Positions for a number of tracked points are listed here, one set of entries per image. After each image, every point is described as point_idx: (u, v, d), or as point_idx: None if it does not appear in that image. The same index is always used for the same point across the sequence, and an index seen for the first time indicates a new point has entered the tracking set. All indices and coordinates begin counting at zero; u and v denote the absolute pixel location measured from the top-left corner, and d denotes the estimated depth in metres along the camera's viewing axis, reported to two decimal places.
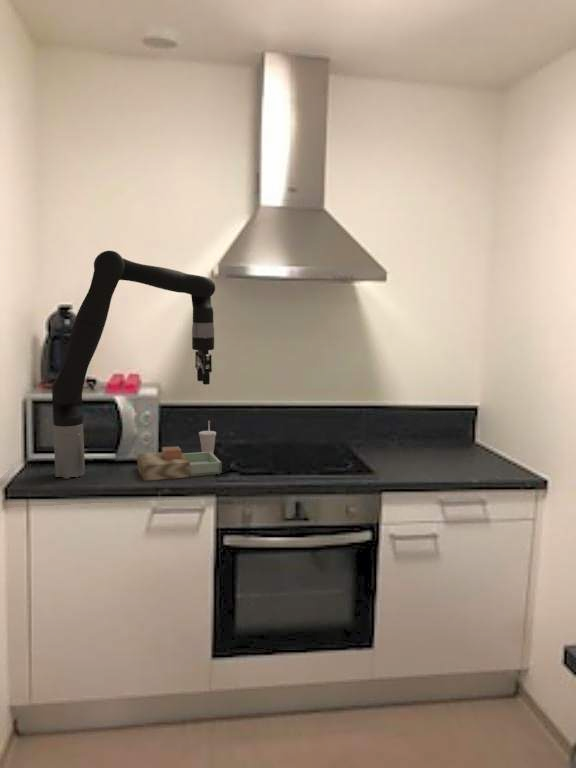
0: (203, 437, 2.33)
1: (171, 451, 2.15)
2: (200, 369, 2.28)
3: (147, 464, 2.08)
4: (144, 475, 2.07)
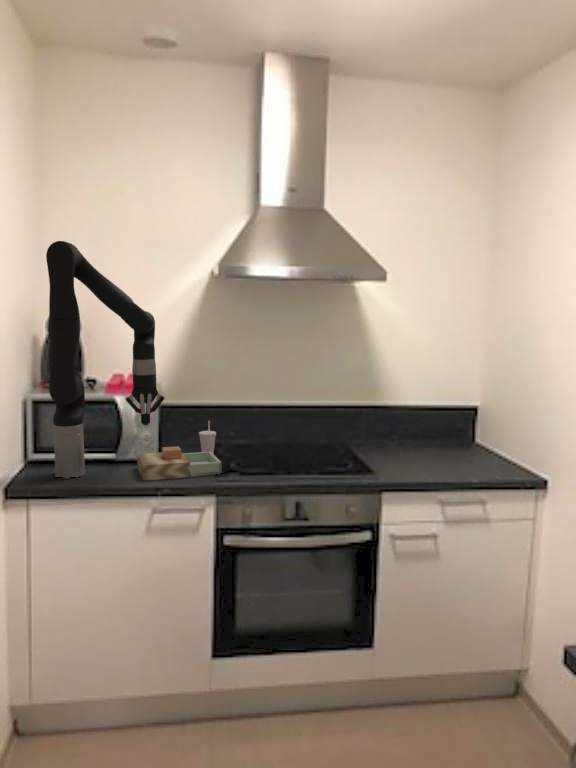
0: (203, 437, 2.33)
1: (171, 451, 2.15)
2: (144, 412, 2.13)
3: (147, 464, 2.08)
4: (144, 475, 2.07)
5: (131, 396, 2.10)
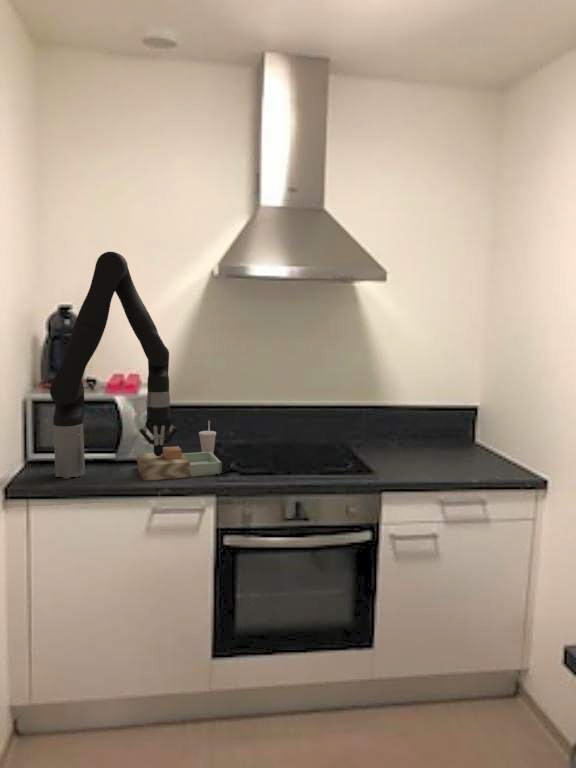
0: (203, 437, 2.33)
1: (171, 451, 2.15)
2: (157, 443, 2.15)
3: (147, 464, 2.08)
4: (144, 475, 2.07)
5: (145, 427, 2.13)
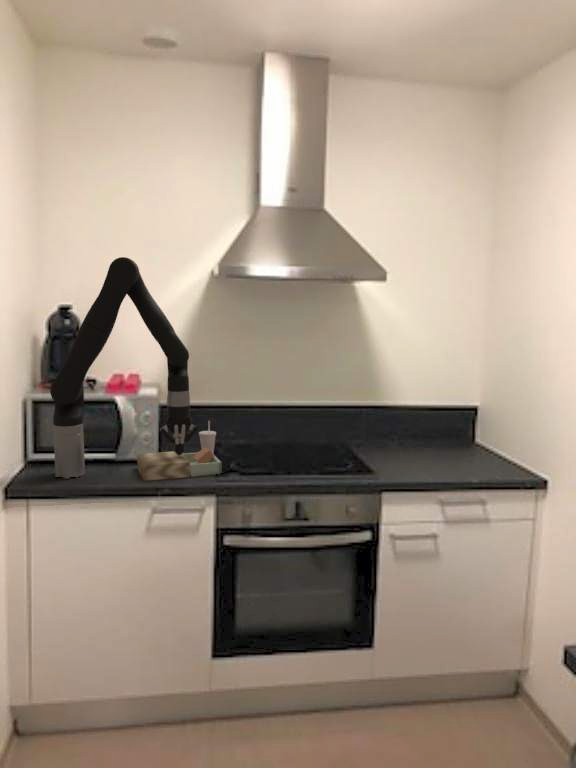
0: (203, 437, 2.33)
1: (209, 459, 2.22)
2: None
3: (147, 464, 2.08)
4: (144, 475, 2.07)
5: (165, 427, 2.15)
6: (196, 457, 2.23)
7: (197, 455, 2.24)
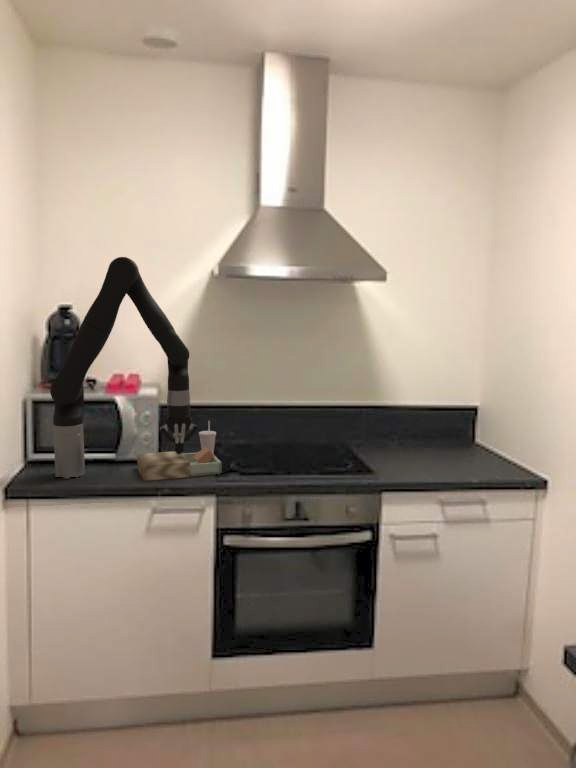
0: (203, 437, 2.33)
1: (209, 459, 2.22)
2: None
3: (147, 464, 2.08)
4: (144, 475, 2.07)
5: (165, 426, 2.15)
6: (196, 457, 2.23)
7: (197, 455, 2.24)
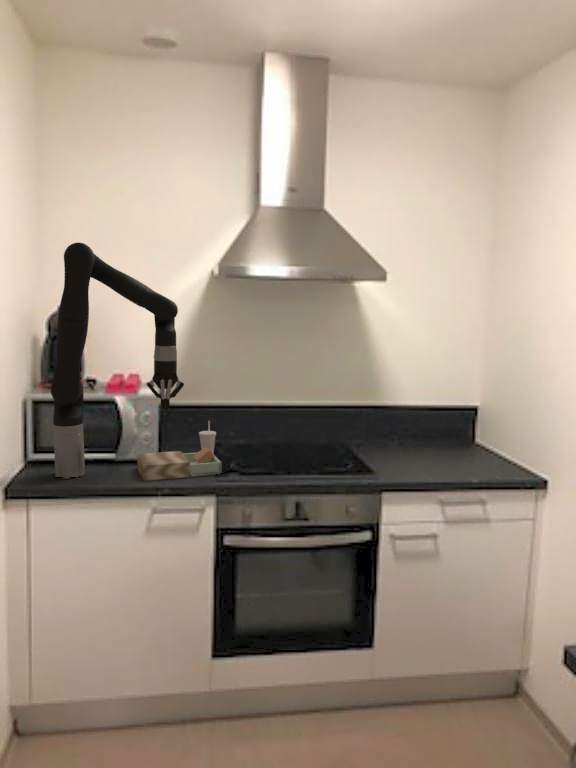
0: (203, 437, 2.33)
1: (209, 459, 2.22)
2: None
3: (147, 464, 2.08)
4: (144, 475, 2.07)
5: (152, 381, 2.16)
6: (196, 457, 2.23)
7: (197, 455, 2.24)
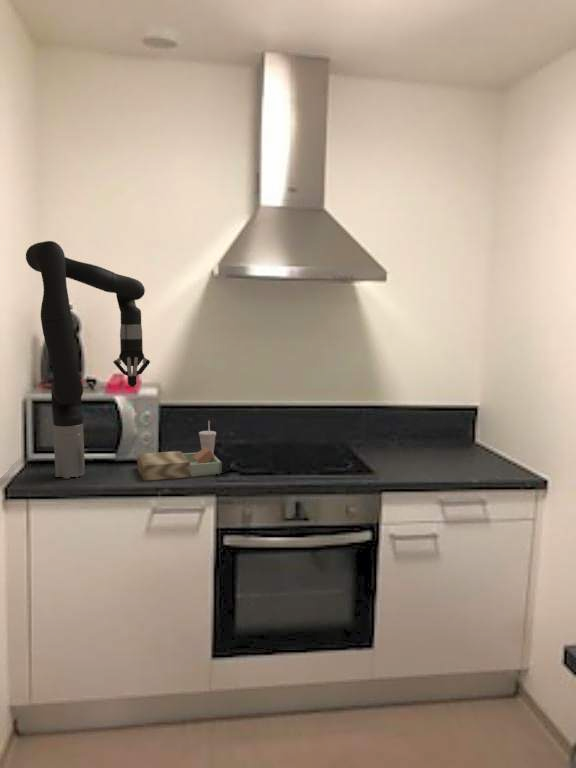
0: (203, 437, 2.33)
1: (209, 459, 2.22)
2: None
3: (147, 464, 2.08)
4: (144, 475, 2.07)
5: (119, 359, 2.25)
6: (196, 457, 2.23)
7: (197, 455, 2.24)
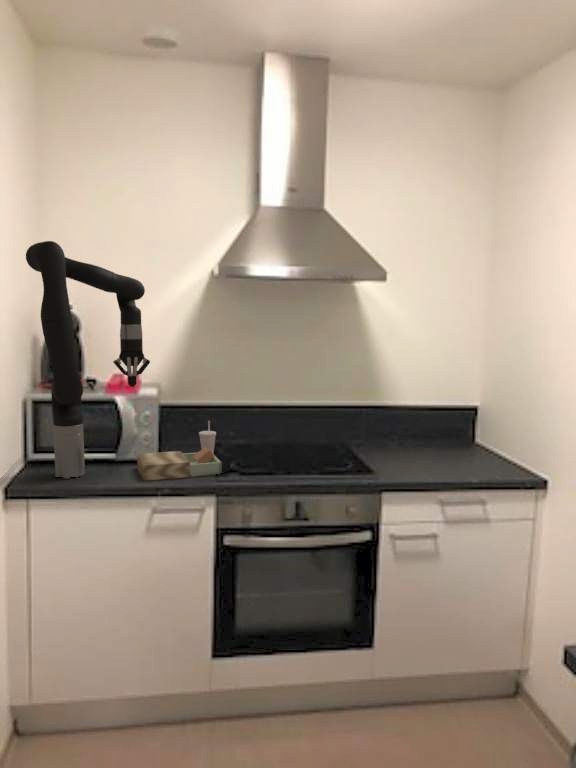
0: (203, 437, 2.33)
1: (209, 459, 2.22)
2: None
3: (147, 464, 2.08)
4: (144, 475, 2.07)
5: (119, 359, 2.25)
6: (196, 457, 2.23)
7: (197, 455, 2.24)
